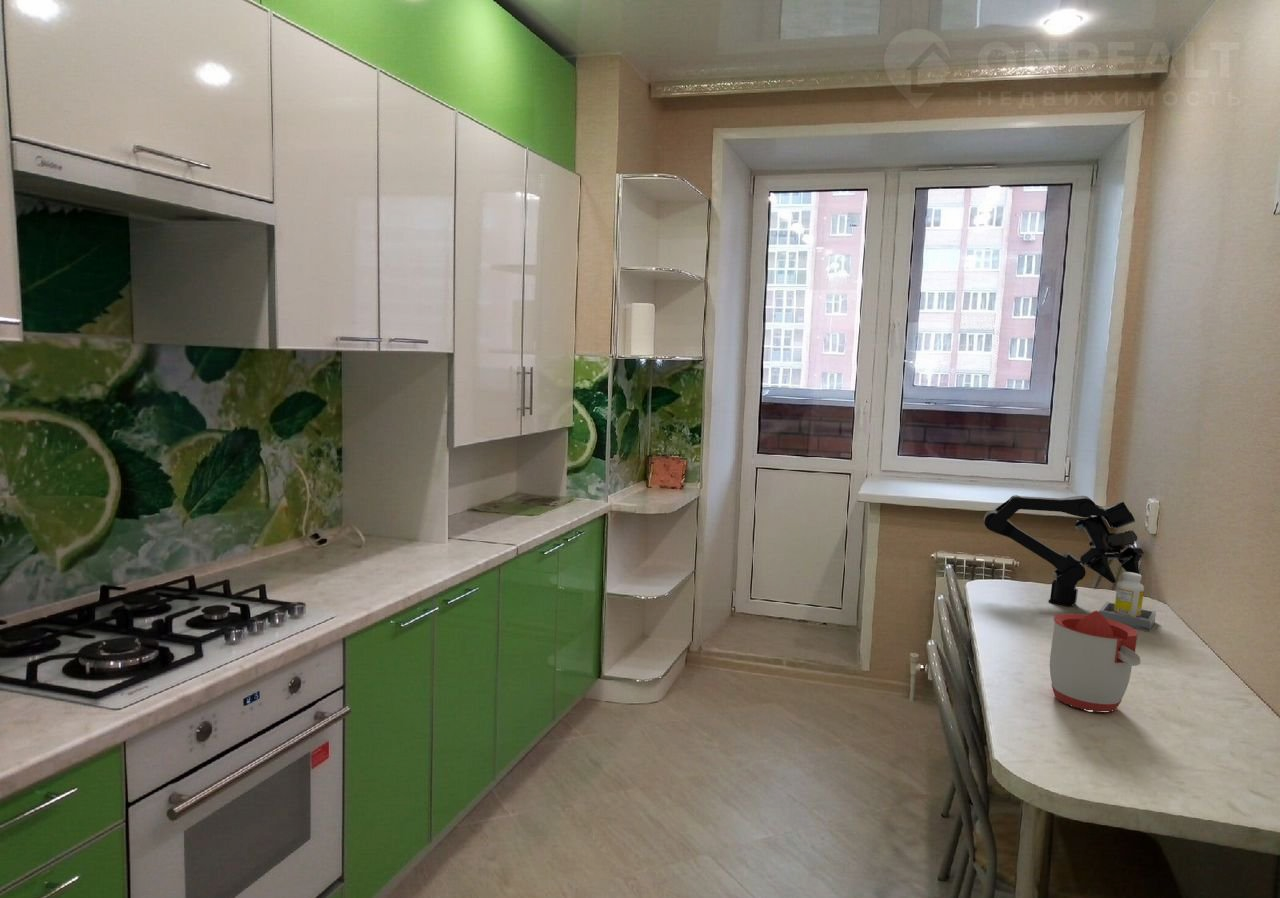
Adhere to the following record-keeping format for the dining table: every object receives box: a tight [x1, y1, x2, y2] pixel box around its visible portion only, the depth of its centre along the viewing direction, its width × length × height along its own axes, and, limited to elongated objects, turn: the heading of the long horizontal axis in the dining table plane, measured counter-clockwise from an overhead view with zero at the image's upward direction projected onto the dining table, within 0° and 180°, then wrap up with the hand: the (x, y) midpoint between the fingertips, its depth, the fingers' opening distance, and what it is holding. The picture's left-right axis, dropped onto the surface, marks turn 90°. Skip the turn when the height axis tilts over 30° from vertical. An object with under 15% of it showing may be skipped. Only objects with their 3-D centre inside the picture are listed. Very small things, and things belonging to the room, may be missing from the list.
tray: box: [1098, 601, 1157, 633], centre depth 243 cm, size 13×13×3 cm
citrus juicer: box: [1049, 610, 1141, 712], centre depth 178 cm, size 16×17×20 cm
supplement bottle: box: [1114, 571, 1145, 618], centre depth 243 cm, size 7×7×13 cm
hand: (1126, 582), depth 243 cm, fingers open, 9 cm apart
